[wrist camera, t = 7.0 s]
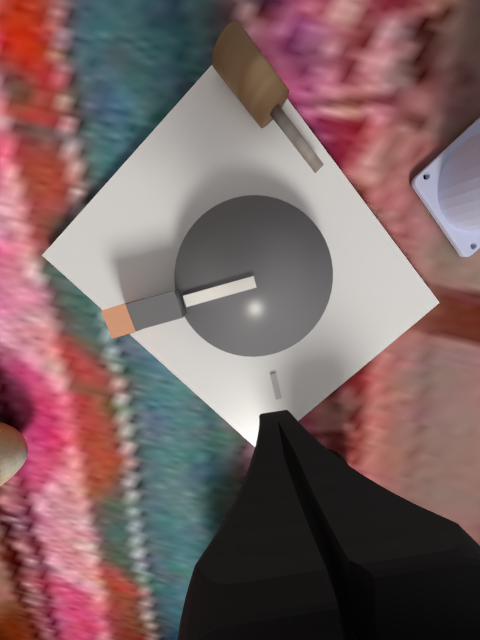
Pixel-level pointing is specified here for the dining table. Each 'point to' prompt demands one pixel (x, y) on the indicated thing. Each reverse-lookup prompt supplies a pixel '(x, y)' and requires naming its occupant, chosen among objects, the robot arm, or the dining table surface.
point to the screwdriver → (257, 85)
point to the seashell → (11, 451)
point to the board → (200, 196)
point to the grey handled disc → (242, 279)
